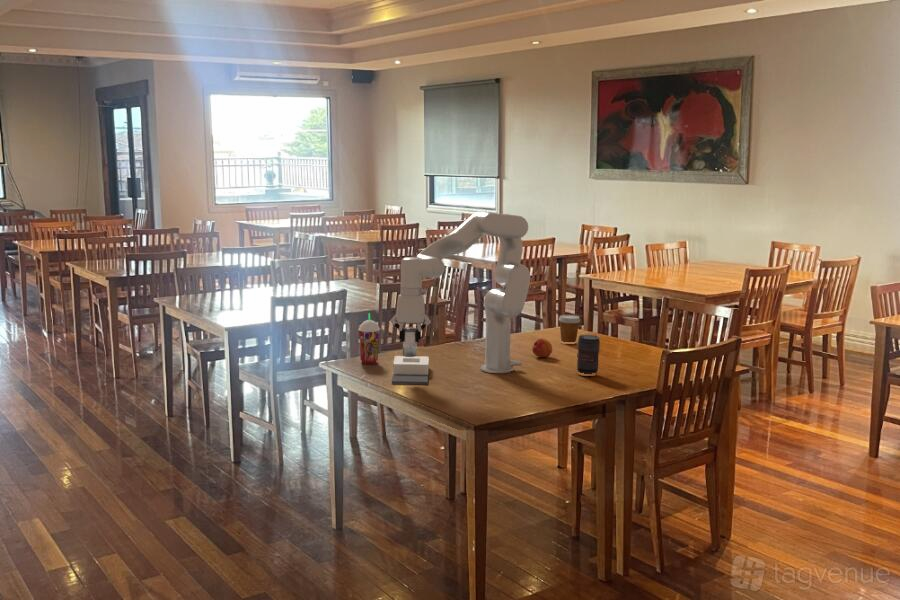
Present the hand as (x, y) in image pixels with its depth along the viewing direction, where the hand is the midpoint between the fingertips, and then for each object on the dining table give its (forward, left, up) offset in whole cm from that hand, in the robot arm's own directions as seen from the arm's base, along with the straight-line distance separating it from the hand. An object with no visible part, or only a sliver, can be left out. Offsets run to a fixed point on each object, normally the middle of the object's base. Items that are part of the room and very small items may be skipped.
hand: (410, 340), depth 318 cm
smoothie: (+17, -26, -15) cm, 35 cm away
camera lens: (-67, -12, -15) cm, 70 cm away
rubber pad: (0, 0, -15) cm, 15 cm away
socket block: (0, -13, -15) cm, 20 cm away
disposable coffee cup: (-68, -68, -15) cm, 98 cm away
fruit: (-53, -40, -15) cm, 68 cm away
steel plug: (0, 0, -5) cm, 5 cm away
